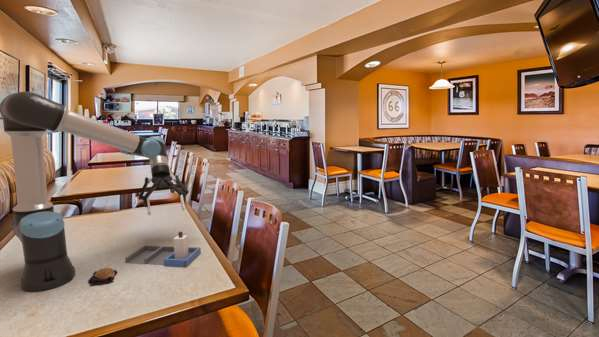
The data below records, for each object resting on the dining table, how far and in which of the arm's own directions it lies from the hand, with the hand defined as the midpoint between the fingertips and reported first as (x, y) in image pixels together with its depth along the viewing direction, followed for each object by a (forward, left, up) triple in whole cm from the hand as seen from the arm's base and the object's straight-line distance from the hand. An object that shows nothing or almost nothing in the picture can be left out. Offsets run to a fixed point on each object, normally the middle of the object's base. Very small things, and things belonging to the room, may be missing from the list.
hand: (167, 211), depth 139 cm
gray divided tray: (-9, -2, -17) cm, 19 cm away
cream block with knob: (-9, -10, -16) cm, 21 cm away
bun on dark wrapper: (-27, +10, -18) cm, 34 cm away
